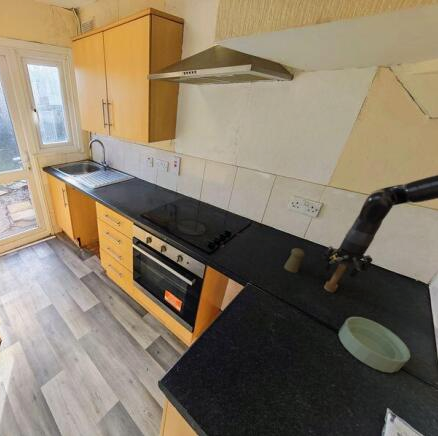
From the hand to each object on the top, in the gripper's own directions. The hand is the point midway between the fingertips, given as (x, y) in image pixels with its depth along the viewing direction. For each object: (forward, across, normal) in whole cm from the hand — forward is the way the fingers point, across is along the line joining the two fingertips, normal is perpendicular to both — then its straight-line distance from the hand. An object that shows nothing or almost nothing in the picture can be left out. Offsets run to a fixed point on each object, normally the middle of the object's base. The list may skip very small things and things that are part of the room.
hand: (338, 272), depth 94 cm
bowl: (+9, +4, -28) cm, 30 cm away
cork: (+9, -14, +8) cm, 19 cm away
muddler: (+9, 0, 0) cm, 9 cm away
